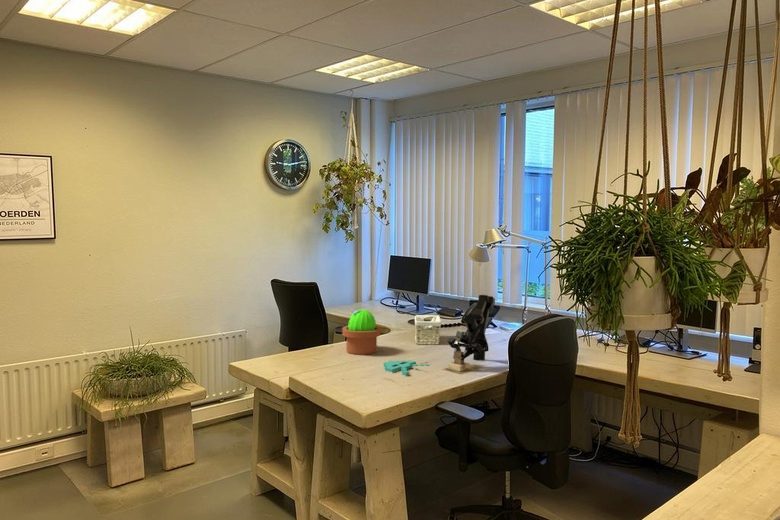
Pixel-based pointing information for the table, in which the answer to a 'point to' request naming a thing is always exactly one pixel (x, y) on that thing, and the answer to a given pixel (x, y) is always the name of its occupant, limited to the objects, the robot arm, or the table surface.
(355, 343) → the potted cactus
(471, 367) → the oak board
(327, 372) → the table surface
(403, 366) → the alien figure
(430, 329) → the storage basket
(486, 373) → the table surface
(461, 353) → the block
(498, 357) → the table surface
